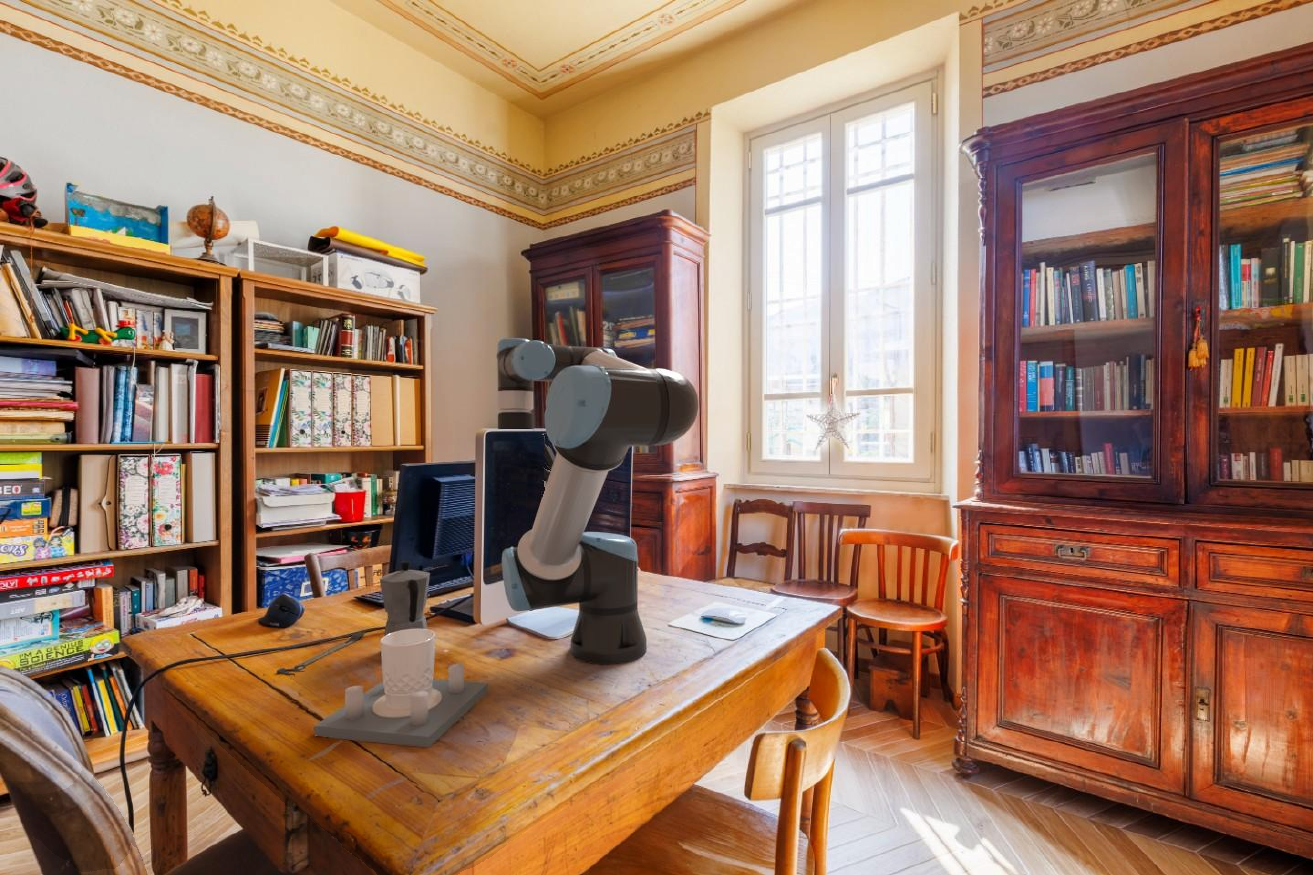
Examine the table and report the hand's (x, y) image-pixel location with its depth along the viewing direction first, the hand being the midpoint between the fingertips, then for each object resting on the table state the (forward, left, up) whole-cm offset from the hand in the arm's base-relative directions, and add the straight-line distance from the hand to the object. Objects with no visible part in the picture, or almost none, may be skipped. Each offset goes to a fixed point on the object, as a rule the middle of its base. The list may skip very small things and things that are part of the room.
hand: (516, 510), depth 129 cm
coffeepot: (+17, +14, -27) cm, 35 cm away
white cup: (+2, +37, -25) cm, 45 cm away
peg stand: (+2, +37, -27) cm, 46 cm away
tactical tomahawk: (+31, +17, -27) cm, 45 cm away
